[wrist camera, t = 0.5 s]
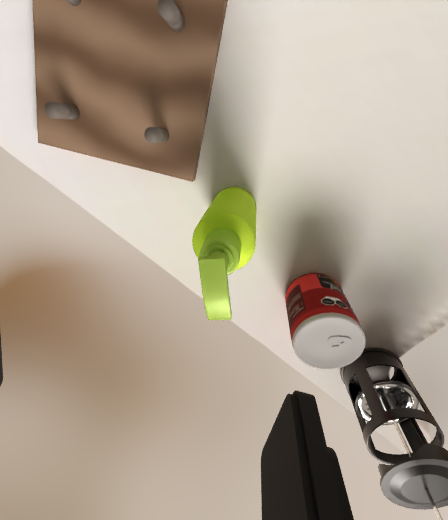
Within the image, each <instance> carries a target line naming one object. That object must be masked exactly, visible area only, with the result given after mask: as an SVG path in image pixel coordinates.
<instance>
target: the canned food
mask: <svg viewBox="0 0 448 520" xmlns="http://www.w3.org/2000/svg"><path fill="white" fill-rule="evenodd" d="M285 300H286V308H287V314H288V321H289V327H290V334H291V340H292V345H293V348H294V351H295V353H296V355H297V357H298V358H299V359H300V360H301V361H302V362H304V363H305V364H307V365H309V366H311V367H314V368H318V369H336V368H341V367H344V366H346V365H348V364H350V363H352V362H353V361H355V360H356V359H357V358H358V357H359V356H360V355H361V353H362V352H363V350H364V347H365V342H366V339H365V334H364V331H363V329H362V327H361V325H360V323H359V321H358V319H357V317H356V315H355V314H354V312H353V310H352V308H351V306H350V304H349V302H348V301H347V299H346V297H345V295H344V293H343V291H342V289H341V288H340V286H339V284H338V283H337V282H336V281H335V280H333V279H332V278H330V277H328V276H326V275H324V274H319V273H310V274H306V275H303V276H300V277H299V278H297V279H295V280H294V281H293V282H292V283H291V285H290V286H289V288H288V290H287V292H286V297H285Z"/></svg>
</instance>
